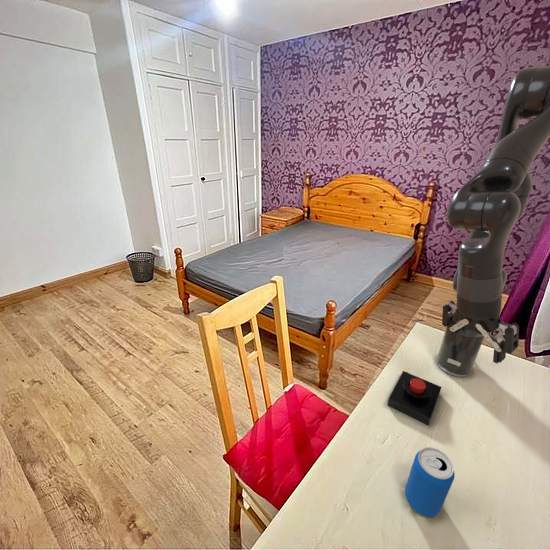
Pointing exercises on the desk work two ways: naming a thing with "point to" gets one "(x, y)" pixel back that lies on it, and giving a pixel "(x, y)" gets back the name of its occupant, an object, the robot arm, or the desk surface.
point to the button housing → (414, 398)
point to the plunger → (417, 386)
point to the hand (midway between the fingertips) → (476, 351)
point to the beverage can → (429, 481)
